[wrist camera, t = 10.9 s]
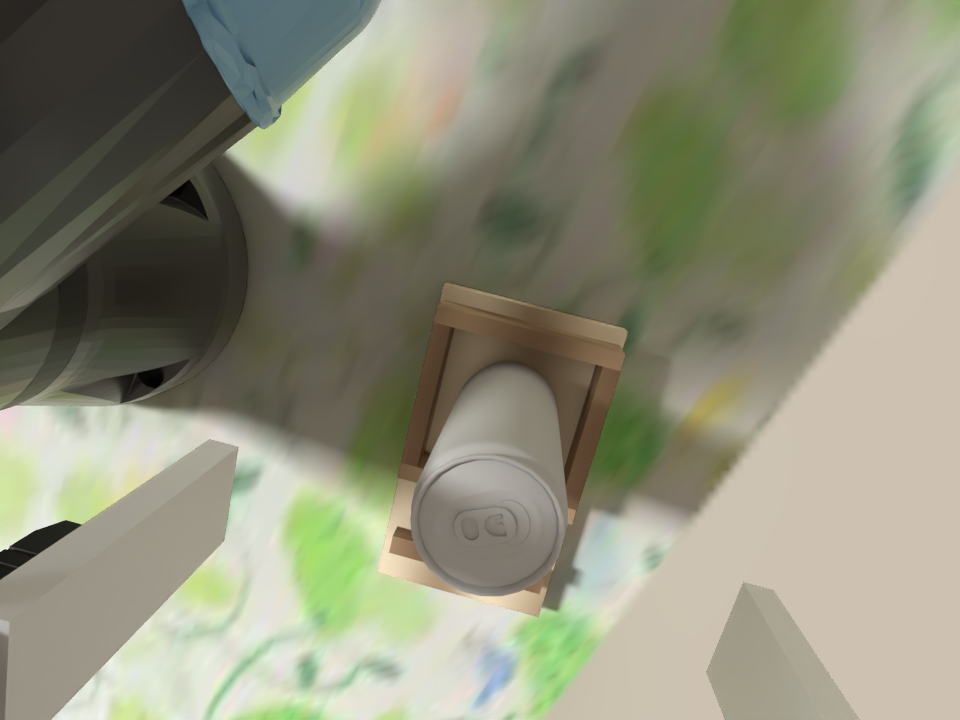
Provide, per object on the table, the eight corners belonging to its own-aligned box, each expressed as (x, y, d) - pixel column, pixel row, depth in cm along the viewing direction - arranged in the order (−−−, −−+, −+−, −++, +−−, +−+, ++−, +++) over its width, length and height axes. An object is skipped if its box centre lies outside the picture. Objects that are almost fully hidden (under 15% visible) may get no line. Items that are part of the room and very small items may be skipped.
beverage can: (563, 444, 29) (581, 592, 17) (468, 457, 29) (423, 609, 18) (547, 350, 28) (556, 439, 16) (450, 366, 28) (389, 462, 17)
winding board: (382, 559, 32) (366, 594, 29) (447, 282, 29) (436, 288, 25) (538, 603, 32) (538, 643, 29) (624, 328, 28) (634, 340, 25)
